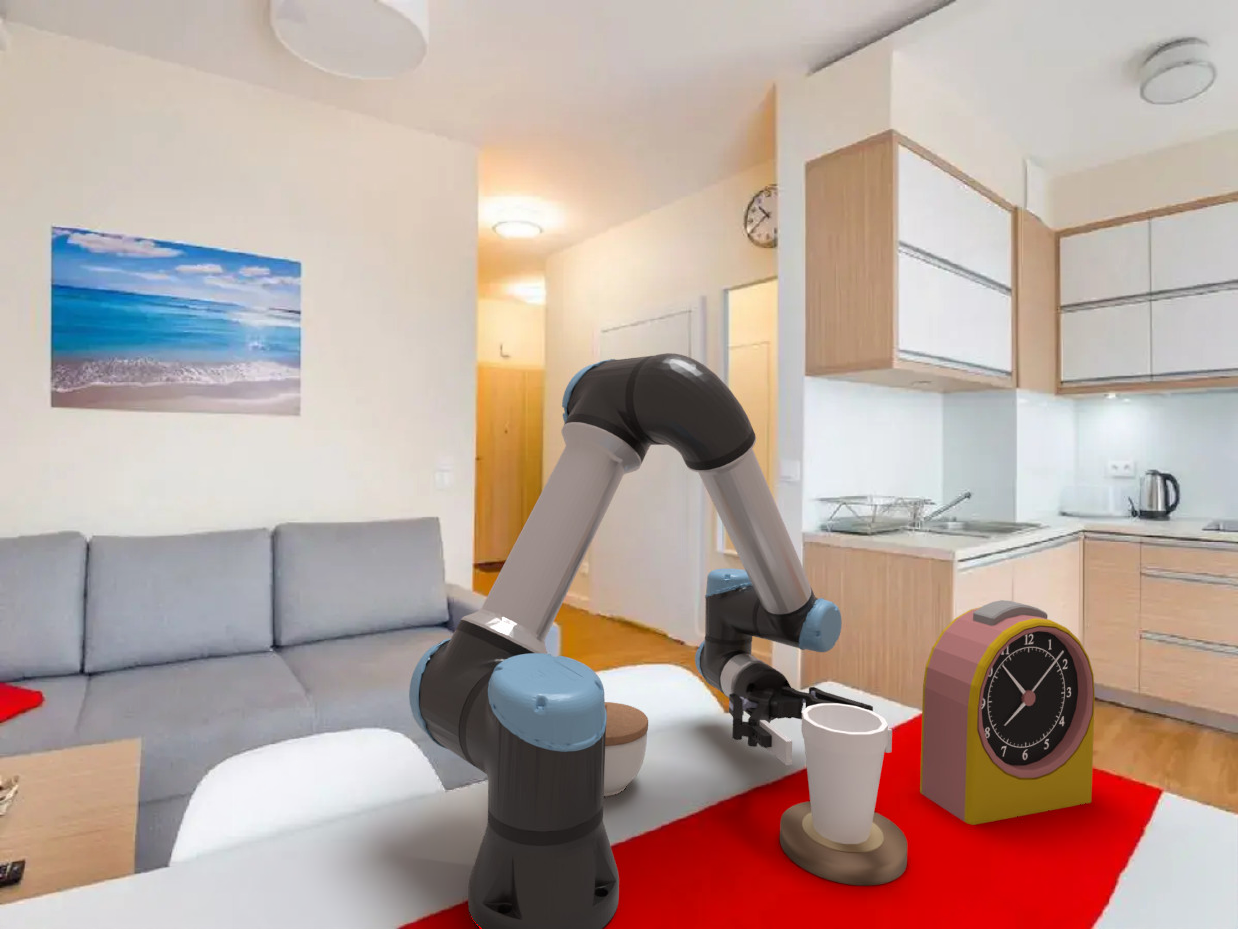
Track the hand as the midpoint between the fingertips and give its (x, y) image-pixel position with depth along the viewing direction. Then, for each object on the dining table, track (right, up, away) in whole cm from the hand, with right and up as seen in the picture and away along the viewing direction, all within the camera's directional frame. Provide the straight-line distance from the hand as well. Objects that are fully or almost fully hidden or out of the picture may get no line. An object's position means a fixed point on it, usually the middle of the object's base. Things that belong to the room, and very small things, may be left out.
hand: (840, 747), depth 82 cm
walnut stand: (0, -11, -1) cm, 11 cm away
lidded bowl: (-29, -11, +13) cm, 33 cm away
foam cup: (0, -9, -1) cm, 9 cm away
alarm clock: (+26, -12, +12) cm, 31 cm away
